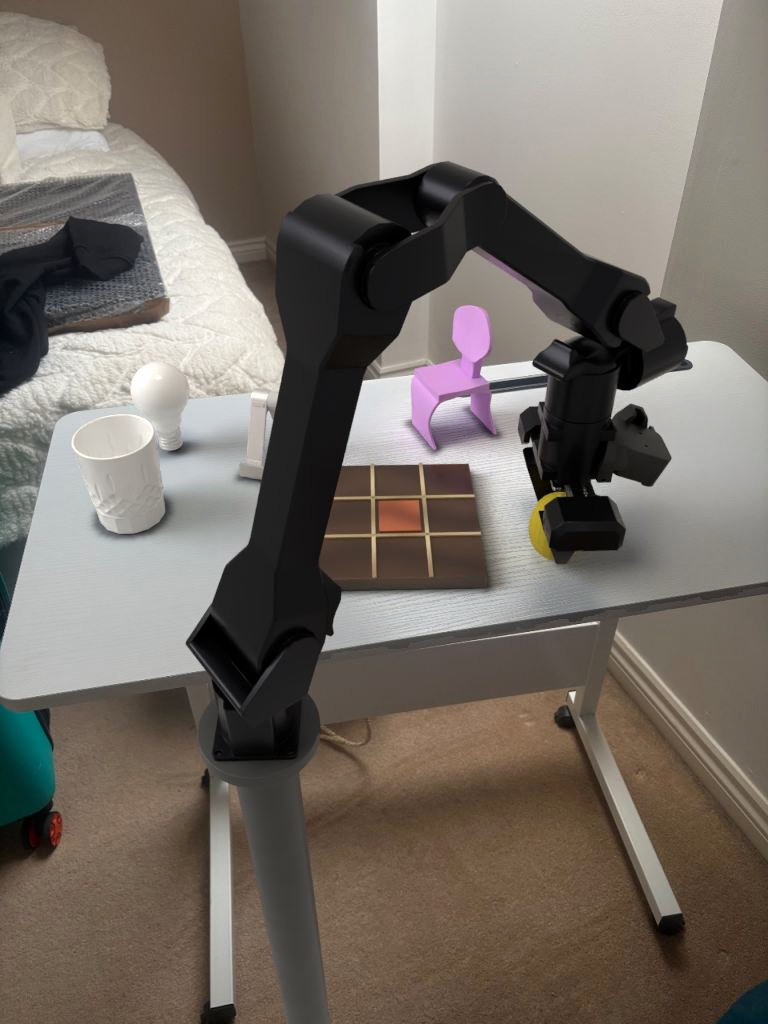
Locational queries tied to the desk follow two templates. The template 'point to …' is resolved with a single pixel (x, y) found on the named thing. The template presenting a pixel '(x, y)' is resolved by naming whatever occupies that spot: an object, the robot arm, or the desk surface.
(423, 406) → the toy chair
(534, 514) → the lemon
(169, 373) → the lightbulb
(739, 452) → the desk surface
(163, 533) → the desk surface
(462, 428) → the desk surface
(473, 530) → the board
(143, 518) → the white cup
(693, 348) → the desk surface
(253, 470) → the tablet stand
